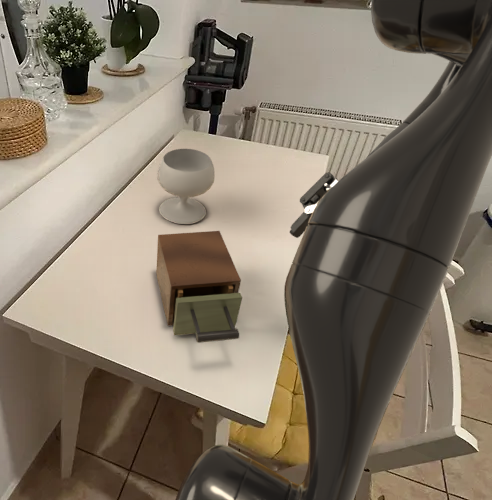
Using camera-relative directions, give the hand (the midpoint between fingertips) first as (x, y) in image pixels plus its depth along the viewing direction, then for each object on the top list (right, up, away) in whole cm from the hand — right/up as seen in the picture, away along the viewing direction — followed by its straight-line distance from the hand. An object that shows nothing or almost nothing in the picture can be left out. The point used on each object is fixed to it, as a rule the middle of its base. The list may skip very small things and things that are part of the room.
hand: (311, 253), depth 64 cm
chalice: (-15, +10, +48) cm, 51 cm away
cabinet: (-15, -9, +25) cm, 30 cm away
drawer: (-14, -13, +19) cm, 27 cm away
